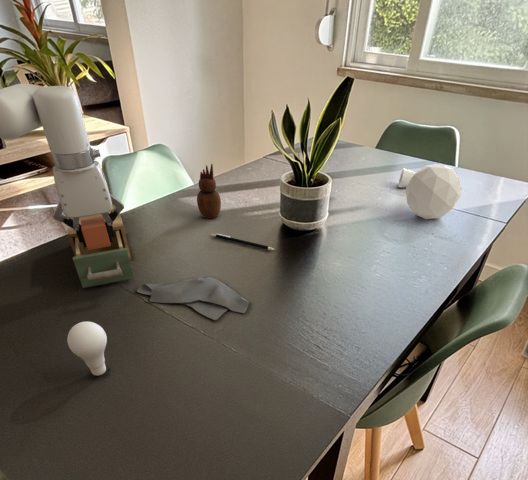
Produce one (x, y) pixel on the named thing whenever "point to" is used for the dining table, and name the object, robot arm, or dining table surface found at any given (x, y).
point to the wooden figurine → (208, 195)
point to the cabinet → (116, 226)
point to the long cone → (405, 177)
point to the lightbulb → (89, 345)
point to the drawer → (102, 263)
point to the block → (95, 233)
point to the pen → (242, 241)
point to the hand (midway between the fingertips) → (98, 241)
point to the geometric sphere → (433, 191)
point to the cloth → (197, 296)
